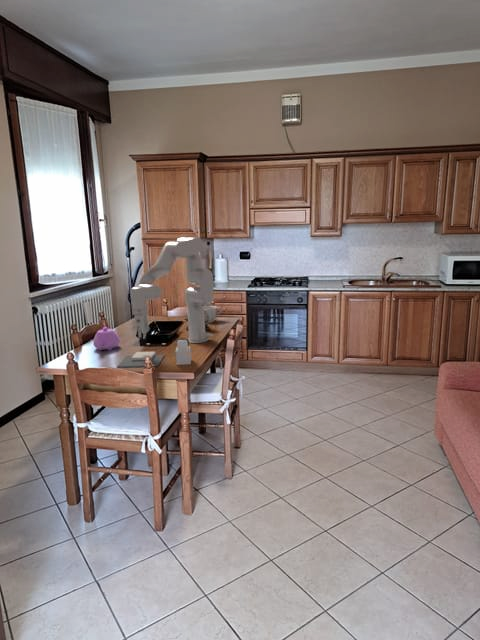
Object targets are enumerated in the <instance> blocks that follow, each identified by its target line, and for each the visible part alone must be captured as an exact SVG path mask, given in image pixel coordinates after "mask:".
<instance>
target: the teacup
mask: <svg viewBox="0 0 480 640" xmlns="http://www.w3.org/2000/svg"><path fill="white" fill-rule="evenodd" d="M202 306H203V305H202ZM203 309H204V310H205V311H206V313H207V314H208V315H209V319H208V323H213V322H214V320H215V319H216V317H217V316H218V315H220V314H221V313H222V311H223V309H222V307H220V306H217V305H204V306H203ZM219 310H220V311H219ZM217 311H219V312H217Z"/></svg>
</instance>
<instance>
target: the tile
mask: <svg viewBox="0 0 480 640" xmlns="http://www.w3.org/2000/svg"><path fill="white" fill-rule="evenodd" d="M154 355H156V351H136V352H135V353H134V354H133V355H132V356H133V357H132V358H131V359H132V361H141V360H145V358H146V357H150V358H151V360H152V358H153V357H154Z"/></svg>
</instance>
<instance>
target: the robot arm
mask: <svg viewBox="0 0 480 640" xmlns="http://www.w3.org/2000/svg"><path fill="white" fill-rule="evenodd" d="M203 249H204V241H203V240H202V239H201V238H200V237H196V236H195V237H194V236H193V237H192V236H181V237H178V238H177V239H176V241H168V242H166V243H164V245H163V248H162V249H161V251H160V253H159V255H158V257H157V259H156V262H154V265H152V266H151V267H150V268H149V269H148V270H146V272H145V273H144V274H143V275H141V278H140V279H139V281H138V284H137V285H136V286H132V288H130V297H131V299H130V300H131V310H132V315H133V316H134V331H135V334H136V335H138V341H139V342H138V343H139V347H146V346H147V345H148V344H147V333H148V332H149V331H150V325H149V317H148V314H149V312H148V301H150V300H152V301H153V300H157V299H159V298H160V297H161V296H162V294H163V292H162V291H163V290H162V289H161V287H160V286H159V285H156V284H153V283H154V282H155V281H157V280H158V279H159V278H162V277H164V276H165V275H167V274H169V273H170V272H171V269H172V268H173V265H174V264H175V261H176V259H185V265H186V266H185V267H186V271H185V272H186V280H187V282H188V284H191V285H195V286H190V287H188V288H186V289H185V292H184V300H185V304H186V310H187V312H188V322H187V324H188V325H187V327H188V328H189V331H188V337H187V338H186V339H188V340H189V343H190V344H200V343H205V342H208V341H209V338H214V334H212V333H207V332H206V331H205V321H204V309H203V305H204V306H209V305H210V304H211V303H213V300H214V275H213V273H212V271H211V270H210V269H208V268H204V267H203V268H202V258H201V255H200V253H201V252H202V251H203ZM196 285H197V286H196Z"/></svg>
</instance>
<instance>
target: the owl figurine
mask: <svg viewBox="0 0 480 640" xmlns="http://www.w3.org/2000/svg"><path fill="white" fill-rule="evenodd" d="M183 319H184V321H186V322H187V323H188V312H187V313H186V317H184V318H183ZM208 319H209V315H208V314H207V313H206V311H205V310H204V321H205V332H206V333H207V332H210V331H211V330H212V329H211V327H209V323H210V322H208ZM185 329H186V331H187V332H189V328H188V326H186V328H185Z"/></svg>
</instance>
